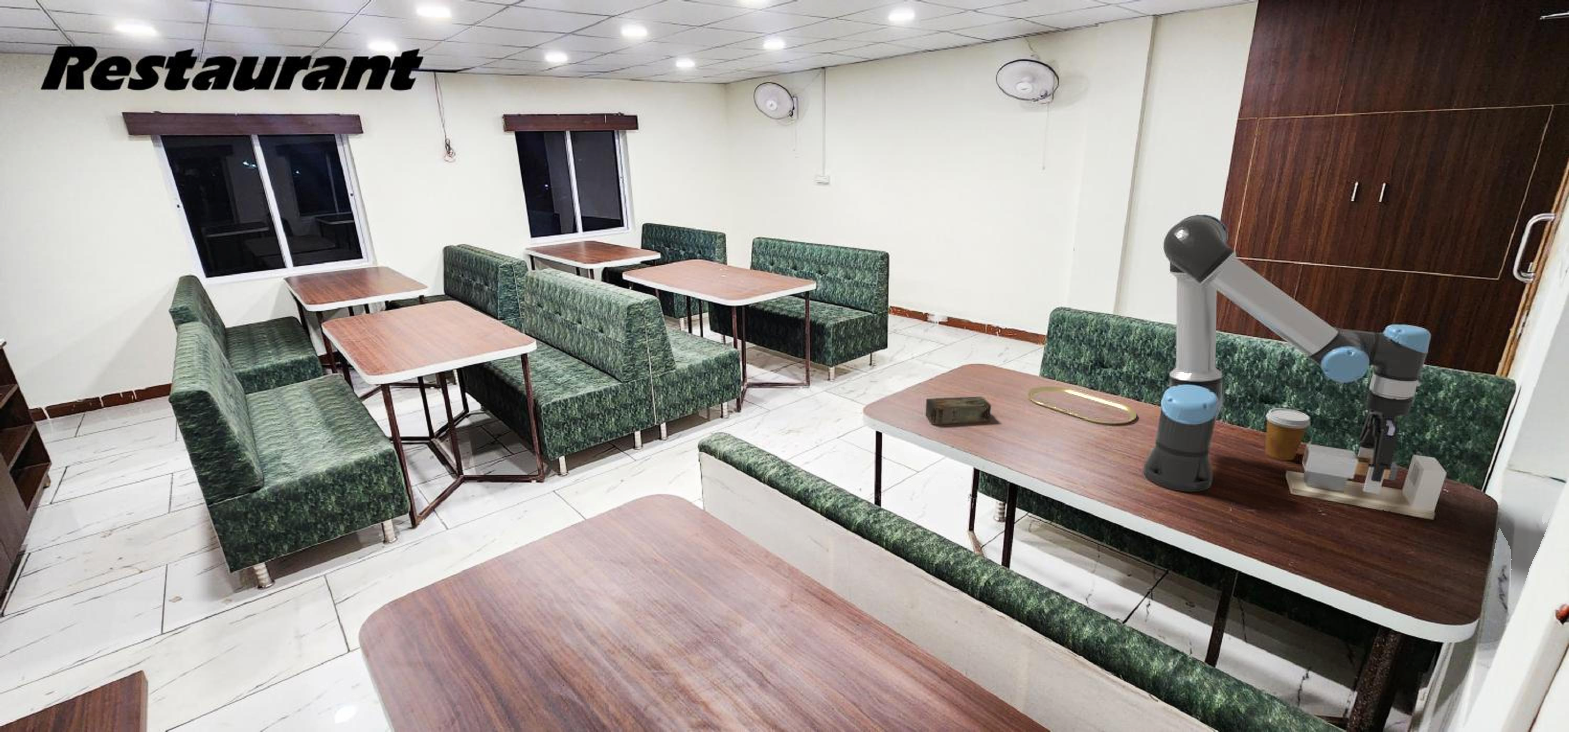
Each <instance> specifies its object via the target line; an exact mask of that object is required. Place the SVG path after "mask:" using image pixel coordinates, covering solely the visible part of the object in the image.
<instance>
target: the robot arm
mask: <svg viewBox="0 0 1569 732" xmlns="http://www.w3.org/2000/svg"><path fill="white" fill-rule="evenodd" d="M1228 239H1229V235H1228V231H1227V227H1226V225H1225V224H1224V223H1223V222H1222V221H1221V220H1220V219H1219V218H1217V217H1215V216H1212V215H1210V214H1209V215H1208V214H1195V215H1190V216H1187V217H1185V218H1184V219H1182V220H1180V221H1179V222H1178V223H1176V224H1175V225H1174V226H1173V227H1171V228H1170V230H1168V232H1167V233H1166V235H1165V237H1164V240H1163V251H1164V255H1165V257H1166V259H1167V260H1168V262H1169V273H1170V274H1172V275H1173V277H1175V278H1176V348H1175V349H1176V351H1175V352H1176V357H1175V358H1176V363H1175V365H1176V366H1175V368H1174V369H1173V370H1171V371H1170V372H1169V388H1167V389H1166V390H1165V392H1164V393H1163V396H1162V398H1161V401H1160V407H1161V408H1160V413H1159V419H1158V420H1159V421H1158V425H1157V431H1156V439H1155V444H1154V446H1153V448H1152V449H1151V451H1150V453H1149V455H1148V456H1147V458H1146V459H1145V460H1144V464H1143V467H1142V468H1143V469H1142V473H1143V475H1144V477H1145V478H1146V479H1147V480H1149V481H1150V482H1152V483H1153V484H1156V485H1158V486H1159V487H1163V488H1166V489H1169V490H1173V491H1178V492H1188V493H1194V492H1195V493H1197V492H1204V491H1206V490H1208V489H1209V488H1211V486H1212V483H1213V482H1212V481H1213V476H1214V475H1213V470H1212V466H1211V462H1210V457H1209V453H1210V449H1211V444H1212V438H1213V434H1214V433H1213V432H1214V429H1215V424H1216V422H1217V418H1218V417H1219V414H1220V411H1221V410H1222V407H1223V406H1224V401H1225V393H1224V389H1223V373H1222V372H1221V371H1220V370H1219V369H1217V368H1216V351H1217V347H1216V344H1217V342H1216V341H1217V338H1216V337H1217V299H1218V298H1217V294H1218V293H1217V292H1219V293H1220V294H1222V295H1224V296H1225V297H1226V298H1227V299H1229V300H1230V301H1231V302H1233V303H1234V304H1236V306H1238V307H1240V308H1241V310H1244V311H1245V312H1246V313H1248V314H1249V315H1250V316H1251V317H1253V318H1254V319H1256V320H1257V321H1258V322H1260V323H1261V324H1262V325H1264V326H1265V327H1267V328H1269V330H1271V331H1272V332H1273V333H1275V334H1276V335H1278V336H1279V337H1280V338H1281V339H1283V340H1284V341H1286V342H1287V343H1288V344H1290V345H1291V346H1292V347H1294V348H1295V349H1297V350H1298V351H1299V352H1301V354H1303V355H1305V356H1306V357H1307V358H1308V359H1309V360H1311V361H1312V362H1314V363H1315V364H1316V365H1318V366H1319V367H1320V369H1321V371H1322V372H1323V374H1324V375H1325V376H1326V377H1327V378H1329V379H1330V380H1332V381H1334V382H1337V383H1344V384H1345V383H1352V382H1353V383H1354V382H1355V381H1358V380H1360V379H1361V378H1363V376H1365V375H1366V373H1367V371H1368V370H1369V369H1368V368H1369V367H1374V371H1373V373H1372V377H1371V380H1370V384H1369V387H1368V388H1369V391H1368V392H1367V396H1366V399H1365V403H1364V405H1365V407H1366V408H1367V409H1369V410H1368V414H1367V416H1366V419H1365V421H1364V425H1363V427H1362V430H1361V433H1360V435H1359V437H1358V440H1359V445H1360V446H1359V449H1358V450H1359V451H1358V454H1357V457H1364V458H1370V459H1373V462H1372V464H1368V466H1369V470H1368V474H1367V476H1365V477H1366V478H1365V482H1364V483H1363V484H1364V488H1363V491H1365V492H1370V493H1376V494H1379V492H1380V489H1381V487H1382V485H1383V482H1384V480H1385V479H1384V475H1385V472H1386V470H1391V465H1392V462H1393V459H1394V454H1395V448H1396V443H1397V440H1398V439H1397V438H1398V435H1399V432H1400V430H1401V429H1400V426H1398V421H1397V417H1398V416H1405V415H1407V414H1409V413H1410V411H1411V408H1412V404H1413V402H1414V398H1413V397H1414V396H1415V393H1416V390H1417V387H1420V386H1421V382H1420V381H1419V380H1420V378H1421V374H1422V370H1423V368H1424V365H1425V361H1426V359H1427V358H1426V357H1427V354H1428V353H1429V345H1430V341H1431V337H1432V333H1430V330H1428V329H1426V328H1423V327H1421V326H1416V325H1409V324H1395V323H1394V324H1390V325H1388V326H1386V327H1385V329H1384V330H1383V332H1371V331H1362V330H1355V329H1354V330H1353V329H1345V328H1338V327H1333V326H1331V325H1330V324H1328V322H1326V321H1325V320H1323V319H1322V318H1320V317H1319V316H1318V315H1316V314H1315V313H1313V312H1312V311H1310V310H1309V309H1308V308H1307V307H1305V306H1303V305H1302V304H1300V302H1298V301H1296V300H1295V299H1294V298H1292V297H1291V296H1290V295H1288V294H1287V293H1286V292H1284V291H1283V290H1281V289H1280V288H1278V287H1277V286H1275V285H1274V284H1273V283H1271V282H1270V281H1269V280H1267V279H1266V278H1264V277H1263V276H1262V275H1260V273H1258V272H1257V271H1255V270H1253V269H1252V268H1251V267H1249V266H1247V265H1246V264H1245V263H1244V262H1242V261H1241V260H1240V259H1238V258H1237V251H1235V249H1233V248H1232V247H1230V246H1229V245H1227V242H1228Z"/></svg>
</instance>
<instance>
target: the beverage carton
mask: <svg viewBox="0 0 1569 732" xmlns="http://www.w3.org/2000/svg"><path fill="white" fill-rule="evenodd" d="M925 402H926V403H925V417H926V418H927V420H928V421H929V423H930V424H931V425H933V426H934V425H948V424H969V423H981V422H982V423H984V422H990V419H991V409H992V405H991V403H989V401H988V400H987V399H986V398H985V397H984V396H961V397H958V396H957V397H937V398H936V397H934V398H926V401H925Z"/></svg>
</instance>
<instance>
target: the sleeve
mask: <svg viewBox="0 0 1569 732" xmlns="http://www.w3.org/2000/svg"><path fill="white" fill-rule="evenodd" d="M1357 457H1358V455H1357V454H1356V452H1355V451H1354V450H1349V449H1345V448H1343V449H1342V448H1337V447H1336V448H1335V447H1330V446H1323V445H1317V444H1309V443H1306V444H1305V448H1304V453H1303V456H1302V461H1301V463H1302V466H1303V469H1304V477H1303V478H1304V481H1305V484H1306V486H1307V487H1313V488H1319V489H1324V490H1330V491H1336V492H1341V493H1344V489H1345V486H1346V482H1347V481H1348V479H1352V480H1353V479H1354V477H1355V475H1356V474H1355V470H1356V467H1357V463H1358V458H1357Z"/></svg>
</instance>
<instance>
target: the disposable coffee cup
mask: <svg viewBox="0 0 1569 732" xmlns="http://www.w3.org/2000/svg"><path fill="white" fill-rule="evenodd" d="M1265 418H1266V422H1267V423H1266V435H1265V436H1266V437H1265V451H1264V452H1265V454H1266V455H1267V456H1268V457H1270V458H1273V459H1275V460H1280V461H1292V460H1294V459H1295V457H1296V455H1297V452H1298V451H1299V448H1300V445H1301V443H1302V440H1303V437H1304V435H1305V434H1306V431H1307V429H1308V427H1310V425H1311V420H1310V416H1309V415H1307V414H1306V413H1304V412H1302V411H1298V410H1295V409H1290V408H1282V407H1280V408H1277V407H1276V408H1271V409H1269V410H1268V412H1267V413H1266V415H1265Z"/></svg>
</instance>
